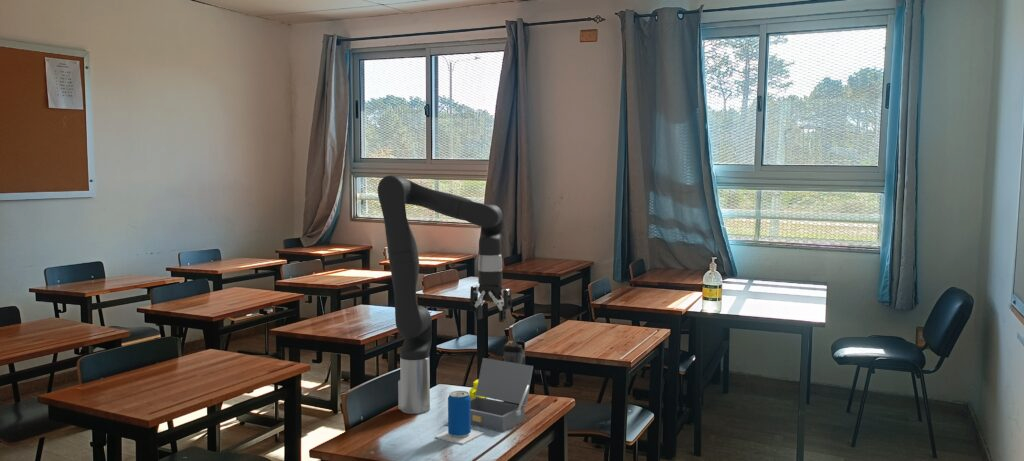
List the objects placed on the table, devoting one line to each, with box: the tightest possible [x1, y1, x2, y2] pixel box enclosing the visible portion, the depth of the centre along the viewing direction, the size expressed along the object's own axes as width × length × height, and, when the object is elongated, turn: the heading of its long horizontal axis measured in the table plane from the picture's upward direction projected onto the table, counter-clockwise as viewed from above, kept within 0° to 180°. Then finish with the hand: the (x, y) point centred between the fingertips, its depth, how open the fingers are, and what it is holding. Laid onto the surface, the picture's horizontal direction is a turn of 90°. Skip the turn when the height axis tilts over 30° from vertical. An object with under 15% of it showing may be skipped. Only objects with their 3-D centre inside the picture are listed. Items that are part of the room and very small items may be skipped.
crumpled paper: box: [468, 378, 487, 399], centre depth 237 cm, size 6×8×8 cm
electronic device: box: [503, 339, 526, 405], centre depth 236 cm, size 9×6×20 cm, turn 168°
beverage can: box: [447, 390, 472, 438], centre depth 206 cm, size 6×6×12 cm
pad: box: [434, 429, 485, 446], centre depth 207 cm, size 10×10×1 cm
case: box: [471, 357, 534, 433], centre depth 220 cm, size 19×17×16 cm
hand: (490, 320), depth 224 cm, fingers open, 8 cm apart
